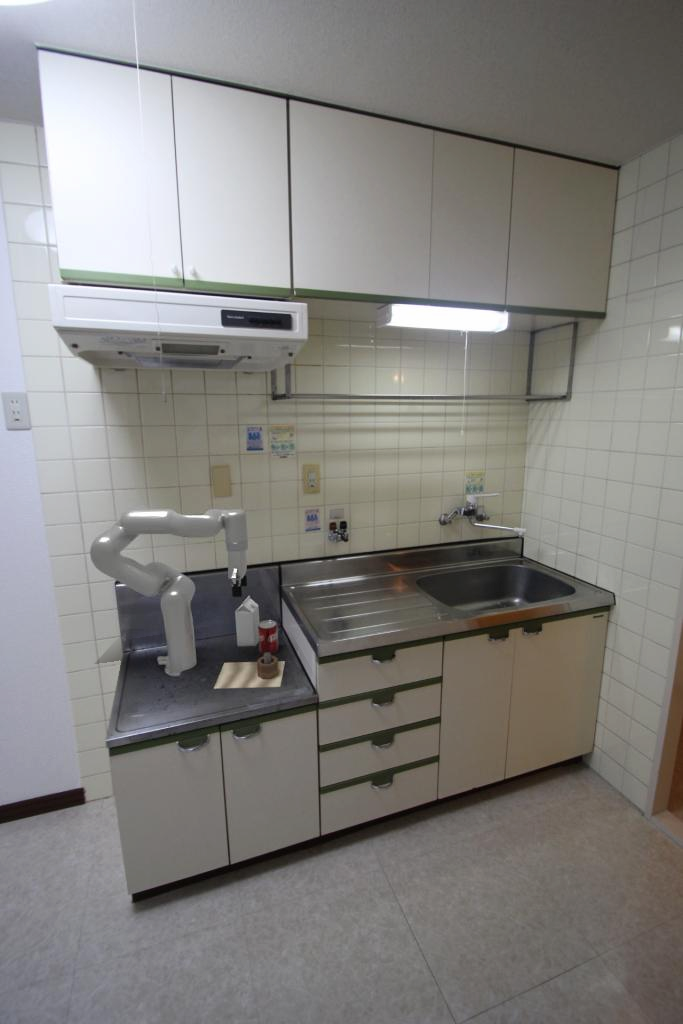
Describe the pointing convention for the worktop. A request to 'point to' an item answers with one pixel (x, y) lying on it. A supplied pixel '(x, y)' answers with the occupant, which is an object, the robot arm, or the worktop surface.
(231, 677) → the board
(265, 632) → the soda can
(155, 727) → the worktop surface
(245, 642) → the milk carton
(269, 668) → the bead
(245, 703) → the worktop surface
